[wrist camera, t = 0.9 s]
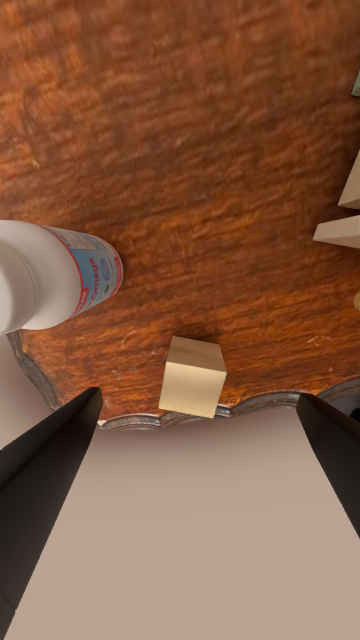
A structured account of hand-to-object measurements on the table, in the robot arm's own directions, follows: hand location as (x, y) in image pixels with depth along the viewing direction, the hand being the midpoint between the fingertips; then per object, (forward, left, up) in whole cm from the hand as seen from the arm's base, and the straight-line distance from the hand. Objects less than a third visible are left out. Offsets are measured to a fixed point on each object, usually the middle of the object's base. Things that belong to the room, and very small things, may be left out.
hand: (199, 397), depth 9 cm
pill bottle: (+3, +10, -12) cm, 16 cm away
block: (-5, -1, -11) cm, 12 cm away
